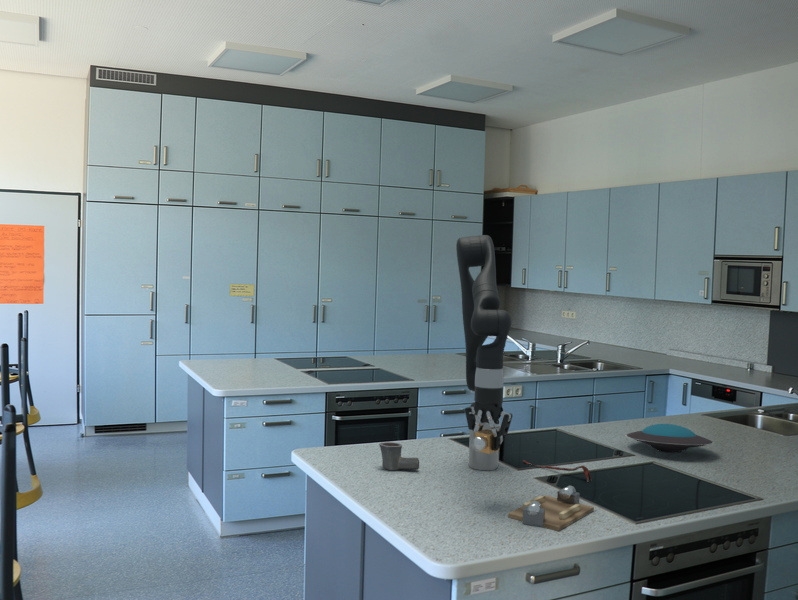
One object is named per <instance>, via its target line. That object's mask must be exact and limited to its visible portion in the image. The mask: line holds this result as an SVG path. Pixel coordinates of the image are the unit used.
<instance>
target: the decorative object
mask: <svg viewBox="0 0 798 600" xmlns="http://www.w3.org/2000/svg"><path fill="white" fill-rule="evenodd" d="M624 436H625V437H627V438H629V439H631V440H635V441H637V442H639V443H644V444H646V445H648V446H650V447H651V448H653V449H654V450H656V451H658V452H661V453H670V454H671V453H673V454H679V453H682V452H683V451H686V450H687V449H688V448H698V447H704V446H708V445H712V444H714V442H713V441H712V440H711V439H709V438H706V437H703V436H701V435H697V434H696V433H695V432H694V431H692V430H691V429H689V428H687V427H685V426H682V425H677V424H673V423H655V424H651V425H649V426H646V427H645V428H644V429H642V430H638V431H637V430H636V431H633V432H629V433H627V434H625V435H624Z"/></svg>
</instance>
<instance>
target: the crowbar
mask: <svg viewBox="0 0 798 600" xmlns="http://www.w3.org/2000/svg"><path fill="white" fill-rule="evenodd" d="M522 462H523V463H525V464H526V465H528V464H531V465H532V463H530V461H529V462H528V461H527V460H526V459H523V460H522ZM531 465H530V466H531ZM534 465H535V466H538V467H537V468H539V467H541V468H540V469H548V470H549V469H550V470H559V471H565V472H570V471H571V472H572V471H573V472H574V471H577V470H579V469H582V470H583V473H584V474H585V475H584V476H585V478H586V483H587V482H589V483H590V481H592V482H593V480H592V476H591V475H592V474H591V473H590V470H589V468H587V466H585V465H579V466H576V467H574V468H568V467H557V466H547V465H539V464H534ZM535 466H534V467H535Z"/></svg>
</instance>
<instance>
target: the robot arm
mask: <svg viewBox="0 0 798 600" xmlns="http://www.w3.org/2000/svg"><path fill="white" fill-rule="evenodd" d="M455 245H456V258H457V267H458V273H459V281H460V289H461V310H462V311H461V312H462V313H461V314H462V323H463V332H464V333H463V335H464V343H465V381H466V386H467V388H468V389H469V390H470V391H471V392H474V398H473V401H474V402H472V403H471V404H470V406H468V407H465V408H464V412H465V417H466V423H467V427H468V430H469V441H468V442H469V443H468V467H469V468H471V469H474V470H480V471H491V470H493V471H494V470H496V469H497V468H498V466H499V462H500V461H499V460H500V448H501V444H500V442H501V436H504V435H508V433H509V431H510V430H509V429H510V426H511V423H512V419H513V414H512V413H508V412H506V411H504V408H503V402H504V353H505V347H506V343H507V339H508V336H509V335H510V330H511V328H512V327H511V326H512V317H511V315H510V313H509V312H508V311H507V310H504V309H500V306H501V300H500V296H499V291H498V287H497V268H496V267H497V266H496V255H495V253H496V252H495V245H494V242H493V239H492V237H491V236H490V235H488V234H482V235H480V234H479V235H469V236H462V237H458V238H457V240H456V244H455ZM475 267H482V269H481V271H480V272H479V273H478V274H477V276H476V277H475V279H474V278H473V276H472V275H471V272H470V268H475ZM488 337H495V339H494V340H493V341H492V342H491V343H487V344H484V343H485V342H486V340H487V339H488ZM500 418H501V420H502V421H501V420H500ZM484 429H488V430H492V433H493V436H494V437H493V441H492V450H493V451H496V452H493V453H490V454H488V453H483V452H479V451H475V450H474V449H473V448H472V446H471V441H472V439H473V438H475V432H477V431H480V430H484ZM498 449H499V451H497V450H498Z"/></svg>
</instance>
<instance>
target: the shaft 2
mask: <svg viewBox="0 0 798 600" xmlns="http://www.w3.org/2000/svg"><path fill="white" fill-rule="evenodd" d="M576 490H577V489H576V488H575V487H574V486H572V485H568V486H566V487H563V488H562V489H559V490H557V493H556V498H557V501H561V502H565V503H569V504H573V505H575V504H577V503H580V498H581V497H580V492H577V491H576Z"/></svg>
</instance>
